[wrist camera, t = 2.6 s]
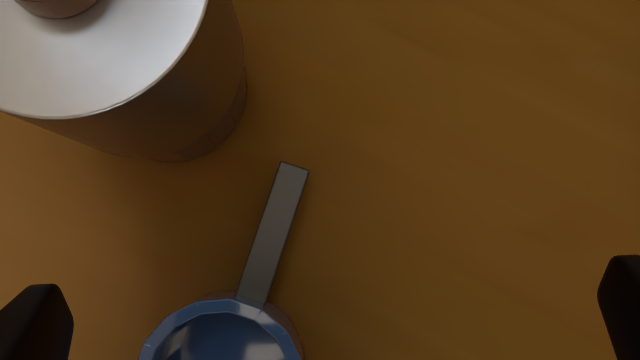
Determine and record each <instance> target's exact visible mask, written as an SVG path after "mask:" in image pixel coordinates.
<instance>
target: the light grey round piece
mask: <svg viewBox="0 0 640 360" xmlns="http://www.w3.org/2000/svg"><path fill="white" fill-rule="evenodd" d="M243 63H244V47H243V39H242V34H241V30H240V27H239V23H238V20H237V17H236V14H235V11H234V8H233V5H232V2H231V0H0V111H1V112H4V113H6V114H9V115H11V116H14V117H16V118H19V119H21V120H24V121H27V122H29V123H32V124H34V125H37V126H39V127H42V128H45V129H47V130H50V131H52V132H55V133H57V134H60V135H62V136H65V137H68V138H70V139H73V140H75V141H78V142H80V143H83V144H86V145H88V146H91V147H93V148H96V149H98V150H101V151H103V152H107V153H110V154H114V155H118V156H126V157H151V156H158V155H162V154H166V153H170V152H173V151H176V150H178V149H181V148H183V147H185V146H187V145H189V144H191V143H192V142H194V141H196V140H198V139H199V138H200V137H202V136H203V135H204V134H206V133H207V132H208V131H209V130H210V129H211V128H212V127H213V126H214V125H215V124H216V123H217V122H218V121H219V120H220V119H221V117H222V116H223V115H224V114H225V112H226V111H227V109H228V108H229V106H230V104H231V103H232V101H233V99H234V97H235V94H236V92H237V90H238V87H239V84H240V80H241V76H242V71H243Z"/></svg>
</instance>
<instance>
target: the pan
mask: <svg viewBox="0 0 640 360" xmlns="http://www.w3.org/2000/svg"><path fill="white" fill-rule="evenodd" d="M235 294H236V291H220V292H211V293H208V294H206V295H204V296H202V297H200V298H198V299H196V300H194V301H192V302H190V303H188V304H186V305H184V306H183V307H181V308H179V309H178V310H176V311H174V312H173V313H171V314H169V315H168V316H167V317H165V319H164V320H163V321H162V322H161V323H160V324H159V325H158V327H157V328H156V329H155V330H154V331H153V332H152V333H151V335H150V336H149V337H148V338H147V339H146V340H145V343H144V344H143V346H142V349H141V352H140V355H139V357H138V360H304V354H303V347H302V343H301V341H300V339H299V336H298V334H297V331H296V330H295V328H294V326H293V324H292V323H291V321H290V320H289V318H288V317H287V316H286V315H285V314H284V313H283V312H282V311H281V310H280V309H279V308H278V307H277V306H275V305H274V304H273V303H271V302H270V301H268V300H267V301H266V303H265V304H264V303H261V302H258V301H255V300H252V299H249V298H246V297H243V296H240V295H237V294H236V295H235Z"/></svg>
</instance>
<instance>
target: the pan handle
mask: <svg viewBox="0 0 640 360" xmlns="http://www.w3.org/2000/svg"><path fill="white" fill-rule="evenodd" d="M308 176H309V170H307V169H304V168H301V167H298V166H295V165H292V164H289V163H286V162H283V161H281V162H280V164H279V167H278V170H277V173H276V176H275V179H274V182H273V185H272V188H271V191H270V194H269V197H268V199H267V202H266V205H265V208H264V211H263V214H262V217H261V220H260V223H259V226H258V229H257V232H256V235H255V238H254V241H253V244H252V247H251V250H250V252H249V255H248V258H247V261H246V264H245V267H244V270H243V273H242V276H241V279H240V282H239V285H238V288H237V291H236V294H237V295H240V296H243V297H246V298H249V299H252V300H255V301H258V302H261V303H264V304H265V303H266V301H267V298H268V295H269V292H270V289H271V286H272V283H273V280H274V277H275V274H276V271H277V268H278V265H279V262H280V259H281V256H282V253H283V250H284V247H285V244H286V241H287V238H288V235H289V232H290V229H291V226H292V223H293V220H294V217H295V214H296V211H297V209H298V206H299V203H300V200H301V197H302V194H303V191H304V188H305V185H306V182H307V179H308ZM236 294H235V295H236Z"/></svg>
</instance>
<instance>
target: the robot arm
mask: <svg viewBox="0 0 640 360" xmlns="http://www.w3.org/2000/svg"><path fill="white" fill-rule="evenodd" d="M597 298H598V303H599V307H600V310H601V313H602V316H603V319H604V321H605V324H606V327H607V330H608V333H609V336H610V339H611V342H612V345H613V348H614V351H615V354H616V357H617V360H640V255H618V256H614V257H613V258H612V259H610V261H609V263H608V266H607V268H606V270H605V273H604V275H603V278H602V280H601V282H600V285H599V287H598V292H597ZM73 328H74V322H73V316H72V314H71V311H70V309H69V307H68V305H67V303H66V300H65V298H64V296H63V294H62V291H61V289H60V288H59V287H58V286H57V285H56V284H36V285H30V286H28V287H27V288H25V289H24V290H23V291H22V292H21V293H19V294H18V295H17V296H16V297H15V298H14V299H13V300H11V301H10V302H9V303H8V304H7V305H6V306H5V307H4V308H2V309H1V310H0V360H68V356H69V350H70V345H71V340H72V335H73Z"/></svg>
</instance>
